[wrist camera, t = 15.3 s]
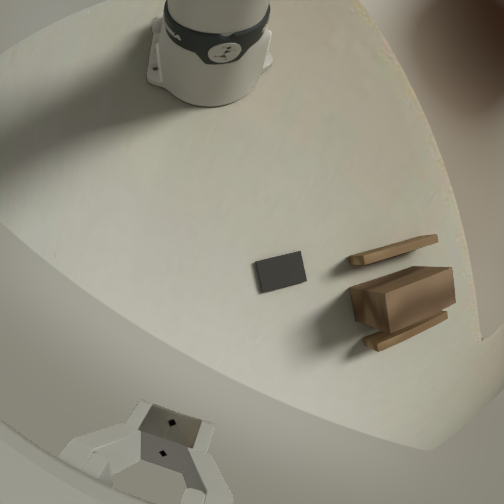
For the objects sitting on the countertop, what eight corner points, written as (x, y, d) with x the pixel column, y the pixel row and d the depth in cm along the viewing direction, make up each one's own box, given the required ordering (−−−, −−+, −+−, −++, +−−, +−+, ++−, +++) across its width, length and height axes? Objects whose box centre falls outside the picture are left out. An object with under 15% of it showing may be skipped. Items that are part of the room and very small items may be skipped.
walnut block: (349, 287, 41) (384, 293, 32) (412, 266, 43) (452, 267, 34) (355, 320, 41) (390, 333, 33) (417, 296, 43) (455, 302, 35)
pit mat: (255, 261, 39) (255, 261, 39) (299, 251, 40) (300, 251, 40) (262, 292, 39) (263, 292, 39) (305, 280, 40) (306, 280, 40)
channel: (349, 256, 41) (363, 255, 37) (420, 235, 44) (436, 234, 40) (364, 345, 41) (378, 352, 38) (431, 315, 44) (447, 318, 40)
